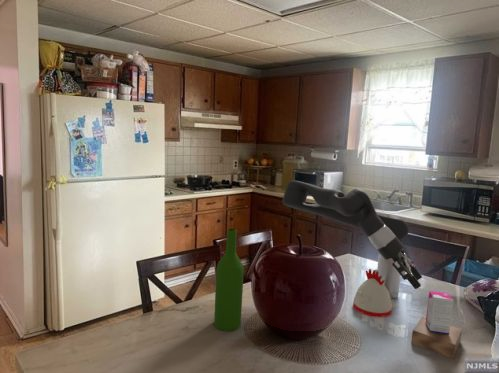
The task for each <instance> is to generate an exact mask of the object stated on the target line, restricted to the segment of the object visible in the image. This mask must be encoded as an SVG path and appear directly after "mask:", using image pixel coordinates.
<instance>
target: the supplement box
mask: <svg viewBox="0 0 499 373" xmlns="http://www.w3.org/2000/svg"><path fill="white" fill-rule="evenodd" d="M427 299H428V300H427V308H426V309H427V310H426V316H425V318H426V323H425V324H426V326H427V328H428V329H429V331H430V332H432V333H440V334H447V335H449V332H450V326H452V325H451V324H452V322H451V321H452V317H453V316H452V315H453V307H454V306H453V305H454V299H453V298H452V297H451V295H449V293H447V292H440V291H434V290H433V291H432V290H429V291H428V298H427Z"/></svg>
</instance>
